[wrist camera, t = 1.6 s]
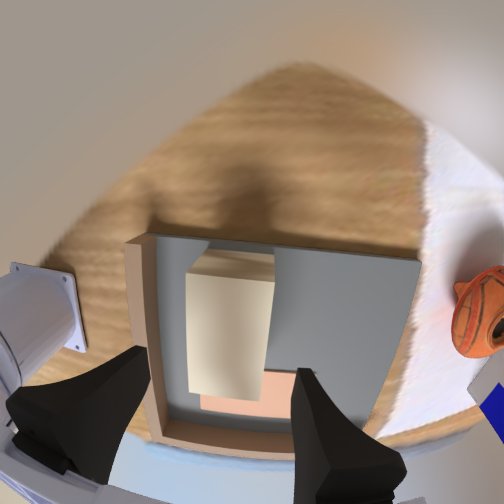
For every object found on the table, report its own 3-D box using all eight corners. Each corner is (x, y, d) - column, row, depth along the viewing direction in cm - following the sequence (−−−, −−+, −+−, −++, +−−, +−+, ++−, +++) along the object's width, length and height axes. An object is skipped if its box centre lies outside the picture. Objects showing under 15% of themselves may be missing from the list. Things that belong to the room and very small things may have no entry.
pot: (488, 336, 20) (513, 376, 14) (426, 329, 22) (443, 374, 16) (514, 259, 18) (552, 286, 11) (450, 245, 20) (483, 272, 14)
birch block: (204, 349, 21) (188, 392, 16) (207, 248, 19) (185, 273, 14) (262, 356, 21) (259, 401, 16) (274, 254, 19) (274, 282, 14)
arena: (161, 418, 25) (152, 440, 22) (145, 232, 20) (124, 243, 17) (355, 434, 24) (361, 457, 21) (417, 259, 19) (438, 273, 16)
